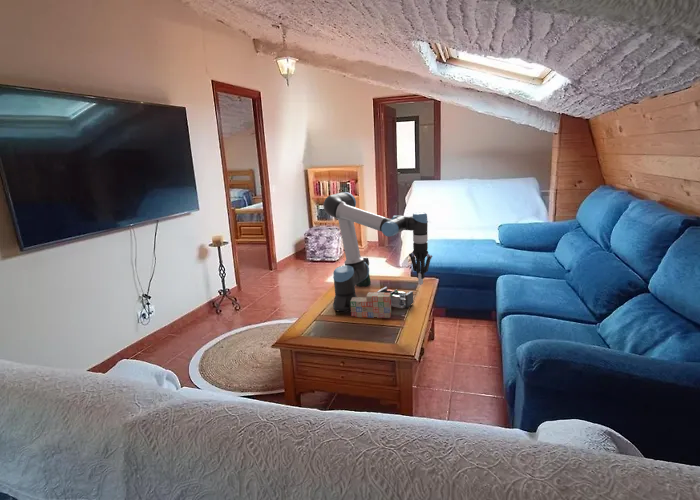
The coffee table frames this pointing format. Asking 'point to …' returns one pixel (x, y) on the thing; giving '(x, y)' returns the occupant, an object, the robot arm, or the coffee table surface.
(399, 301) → the gauge body
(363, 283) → the coffee jar
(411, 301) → the plunger
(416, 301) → the coffee table surface
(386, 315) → the stack of blocks
